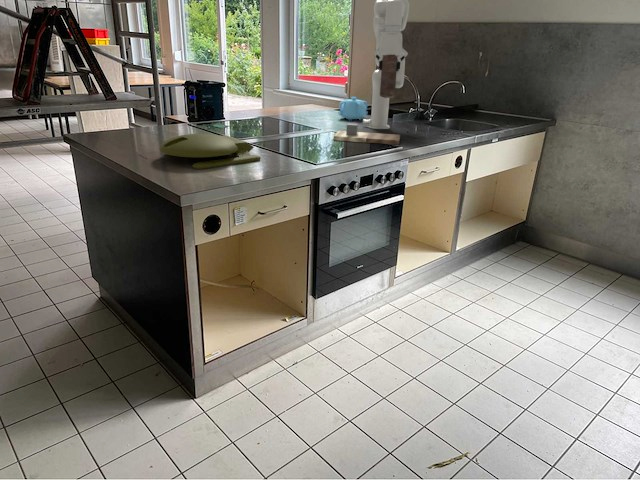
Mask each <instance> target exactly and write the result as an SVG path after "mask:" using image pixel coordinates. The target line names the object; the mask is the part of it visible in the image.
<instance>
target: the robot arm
mask: <svg viewBox="0 0 640 480" xmlns="http://www.w3.org/2000/svg"><path fill="white" fill-rule="evenodd" d="M409 12H410V3H409V0H375V3H374V5H373V13H374V17H373V20H372V22H373V25H372V26H373V32H374V36H375V40H376V49H375V50H374V51H373V52H372V53H373V55H374V56H375V63H376V66H377V67H378V69H376V70H374V71H373V72H372V75H371V76H372V77H371V78H372V81H371V82H372V95H371V96H372V99H371V111H370V112H371V114H370V119H362V123H363V124H367V128H368V129H374V130H389V129H390V125H389V124H388V119H389V107H390V98H384V97H381V96H380V84H381V71H382V58H383V56H385V55H396V56H397V59H398V61H397V73H396V88H395V89H401V88H402V87H403V86H404V82H405V70H406V69H405V65H406V57H407V56H408V55H409V53H408V52H407V50H405V49H404V47H403V33H402V31H404V30H405V28H406V26H407V21H408V17H409Z"/></svg>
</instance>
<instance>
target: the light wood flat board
mask: <svg viewBox="0 0 640 480" xmlns="http://www.w3.org/2000/svg"><path fill="white" fill-rule="evenodd" d="M346 131H347V130H337V132H336V133H335V134H334V135H333V140H334V141H341V142H342V141H343V142H352V143H353V142H355V143H366V144H367V143H370V144H384V145H397V146H398V145H400V141H401V140H400V139H401V134H397V133H396V134H393V133H379V132H378V133H377V132H363V131H357V135H356V136H355V135H346Z"/></svg>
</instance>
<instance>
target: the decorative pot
mask: <svg viewBox="0 0 640 480" xmlns="http://www.w3.org/2000/svg"><path fill="white" fill-rule="evenodd" d="M350 98H351V99H344V100H342V101H340V102H339V104H338V107H339V111H338V112H337V114H338V115H339V116H341V118H343V119H344V118H346V119H345V120H348V121H350V120H351V121H353V120H357V119H359V120H358V121H362V120H364V119H365V118H366V116H367V115H368V113H369V112H368V110H367V108H368V105H369V104H368V102H367V101H366V100H362V99H358V98H357V96H351V97H350Z"/></svg>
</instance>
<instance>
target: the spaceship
mask: <svg viewBox="0 0 640 480" xmlns="http://www.w3.org/2000/svg"><path fill="white" fill-rule="evenodd" d="M254 148H255V146H254V145H252V144H250V143H248V142H247V141H243V140H241V139H238V138H235V137H233V136H229V135H227V134H224V135H223V134H222V135H220V134H219V135H218V134H211V133H190V134H188V133H187V134H182V135H177V136H174V137H171V138H169V139H167V140H165V141H164V142H162V143H161V145H160V147H159V152H161V153H162V154H164V155H165V156H168V157H172V156H173V157H181V158H182V157H183V158H213V157H220V156H222V157H223V156H227V155H229V156H231V157H227V158H221V159H219V158H218V159H213V160H205V161H198V162H195V163H193V164H192V168H193V169H194V170H206V169H212V168H219V167H227V166H234V165H240V164H242V165H243V164H247V163H255V162H259V161H260V160H261V156H260V155H258V154H250V153H249V152H251V150H253V149H254ZM232 156H233V157H232Z"/></svg>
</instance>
